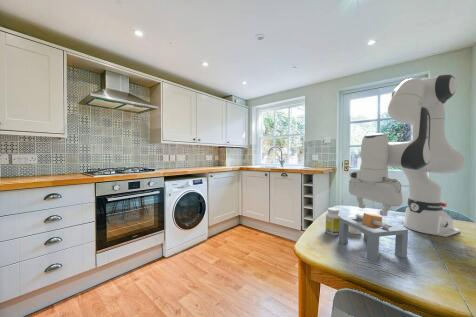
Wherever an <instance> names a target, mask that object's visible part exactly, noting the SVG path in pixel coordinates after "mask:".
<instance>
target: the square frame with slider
mask: <svg viewBox="0 0 476 317" xmlns="http://www.w3.org/2000/svg"><path fill="white" fill-rule="evenodd" d="M355 215H356V216H351V217H347V216H341V217H340V218H339V235H338V242H340V244H341V243H342V244H348V243H349V231H348V228H349V226H351V227H353V228H355V229H357V230H359V231H362V232H364V233H366V234H367V235H365V234H363V239H364V240H366V259H367V260H369V261H370V262H372V263H373V262H374V263H375V262H379V252H380V251H379V250H380V249H379V248H380V237H388V236H390V237H391V236H395V244H394V255H396V256H397V257H399V258H401V259H403V258H408V241H409V228H406V227H403V226H400V225H398V224H395V223H391V222H389V221H387V220H383V219H382V222H379V221H376V220H372V224H375V225H377V226H379V227H380V228H377V229H372V228H370V227H368V226H365V225H363V224H361V223H359V222H362V220H363V215H364V214H360V213H356V214H355Z"/></svg>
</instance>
